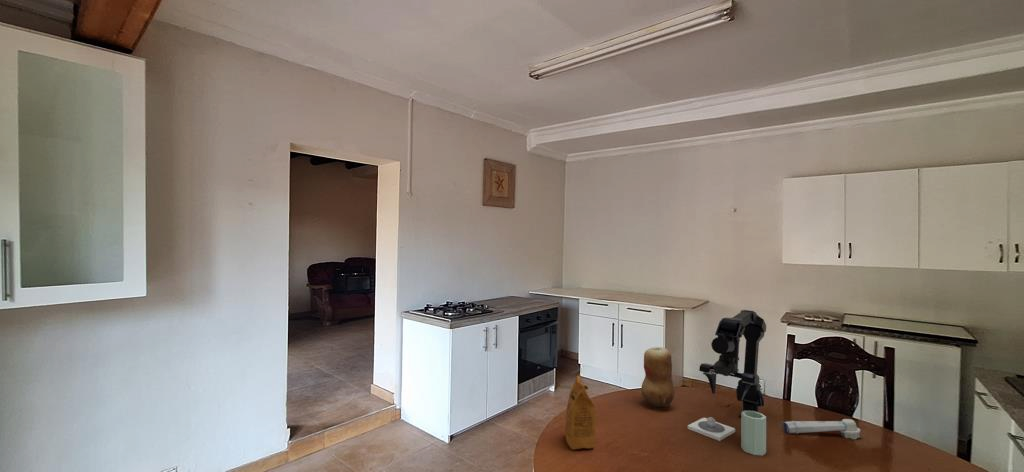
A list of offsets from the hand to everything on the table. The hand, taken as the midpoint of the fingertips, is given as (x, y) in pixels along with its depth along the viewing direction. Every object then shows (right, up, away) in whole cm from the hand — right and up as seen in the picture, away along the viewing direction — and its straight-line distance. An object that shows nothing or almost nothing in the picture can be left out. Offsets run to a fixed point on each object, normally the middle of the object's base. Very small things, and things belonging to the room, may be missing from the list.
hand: (726, 397), depth 149 cm
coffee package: (-54, -14, -4) cm, 56 cm away
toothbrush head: (+37, -16, +4) cm, 40 cm away
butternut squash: (-15, -15, +28) cm, 35 cm away
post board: (-3, -15, +6) cm, 16 cm away
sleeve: (+5, -15, -8) cm, 18 cm away
